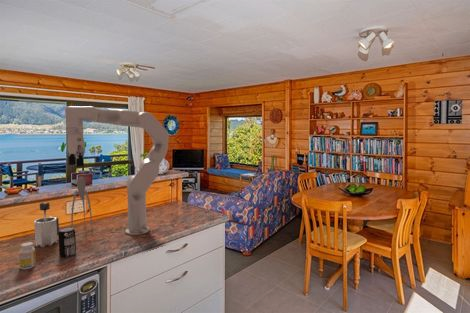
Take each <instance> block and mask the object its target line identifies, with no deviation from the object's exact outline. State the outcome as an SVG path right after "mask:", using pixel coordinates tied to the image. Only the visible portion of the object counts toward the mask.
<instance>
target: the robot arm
mask: <svg viewBox="0 0 470 313" xmlns="http://www.w3.org/2000/svg"><path fill="white" fill-rule="evenodd" d="M64 111H65V112H64V114H65V134H66V135H67V141H66V142H67V154H68V155H67V157H68V166H72V165H76V167H77V168H78V167H84V165H85V162H84V161H85V160H84V158H85V156H84V155H85V153H86V146H85V138H84V121H85V122H91V123H92V122H93V123H102V124H110V125H114V126H121V127H122V126H123V127H129V128H130V127H131V128H138V129H139V128H141V129H143V130H144V131H145V133H147V134H148V135H149V137H150V139H151V141H152V147H151V149H150V150H149V152H148V153H147V155H146V156H145V157H144V159H143V160H142V161H141V163H140V164H139V168H138V169H139V170H138V171H137V172H136V174H135V175H134V174H133V175H132V176H129V178H128V179H127V182H126V194H127V226H128V228H126V229H125V234H127V235H129V236H140V235H144V234H147V233H148V232H149V231H150V227H149V226H148V225H147V197H146V195H147V194H146V193H147V191H148V190H149V189H150V187H151V186H152V184H153V183H154V181H156V179H157V177H158V176H159V173H160V165H161V163H162V162H163V160H164V159H165V157H166V155H167V154H168V149H169V139H170V135H169V134H170V133H169V132H168V130H167V129H166V128H165V127H164V125H162V124H161V123H160V122H159V120H158V119H157V118H156V117H155V116H154V115H153V114H152V113H151V112H148V111H137V110H135V111H133V110H129V109H119V108H118V109H107V108H106V109H105V108H96V107H95V106H91V105H89V106H76V105H75V106H74V105H73V106H72V105H69V106H65V108H64Z"/></svg>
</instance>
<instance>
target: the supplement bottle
mask: <svg viewBox="0 0 470 313" xmlns="http://www.w3.org/2000/svg"><path fill="white" fill-rule="evenodd" d="M20 248H21V249H20V250H19V251H18V252H19V268H20V269H21V270H29V269H33V268H34V267H35V266H36V265H37V262H36V257H37V256H36V248H35V247H34V243H33V242H32V241H29V242H24V243H22V244H21V246H20Z"/></svg>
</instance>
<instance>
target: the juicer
mask: <svg viewBox="0 0 470 313" xmlns="http://www.w3.org/2000/svg"><path fill="white" fill-rule="evenodd" d="M76 187H77V190H75V191H74V195H73V198H72V205H71V217H70V219H71V227H73V228H74V207H75V202H76V198H77V195H79V198H80V200H81V201H82V208H83V223H84V226H85V225H86V209H85V208H86V207H85V206H86V205H85V204H86V203H85V202H86V201H85V197H86V199H87V203H88V209H89V210H88V211H89V216H90V218H89V219H90V228H91V230H92V229H93V216H92V207H91V206H92V205H91V201H90V197H89V194H88V190H86V179H85V177H84V176H79V177H78V178H77V179H76Z"/></svg>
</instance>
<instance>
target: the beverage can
mask: <svg viewBox="0 0 470 313" xmlns="http://www.w3.org/2000/svg"><path fill="white" fill-rule="evenodd" d="M57 239H58V252H59V253H58V255H59V256H60V257H61V258H70V257H73V256H74V255H76V253H77V241H76V240H77V239H76V230H75V227H74V226H73V227H72V226H67V227H62V228H59V233H58V235H57Z"/></svg>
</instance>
